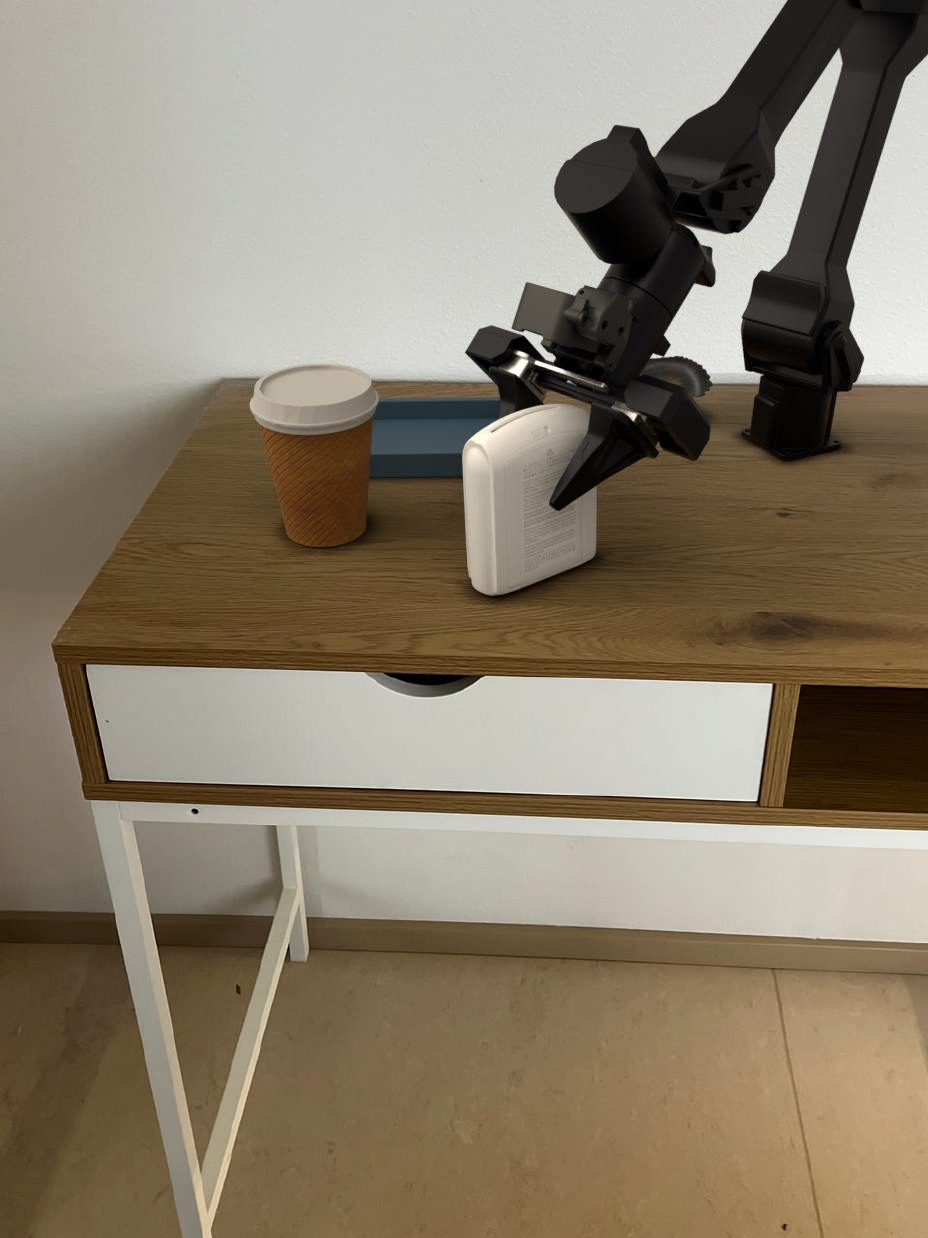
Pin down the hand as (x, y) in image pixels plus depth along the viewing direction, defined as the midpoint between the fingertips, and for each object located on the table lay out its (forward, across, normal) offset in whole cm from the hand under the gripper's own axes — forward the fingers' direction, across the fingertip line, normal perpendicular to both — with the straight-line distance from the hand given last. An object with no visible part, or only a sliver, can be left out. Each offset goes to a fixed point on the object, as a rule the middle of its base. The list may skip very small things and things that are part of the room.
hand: (521, 494), depth 79 cm
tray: (-2, -23, +12) cm, 26 cm away
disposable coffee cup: (+9, -16, +2) cm, 19 cm away
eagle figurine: (-17, -12, +26) cm, 34 cm away
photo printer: (+4, 0, +6) cm, 7 cm away
